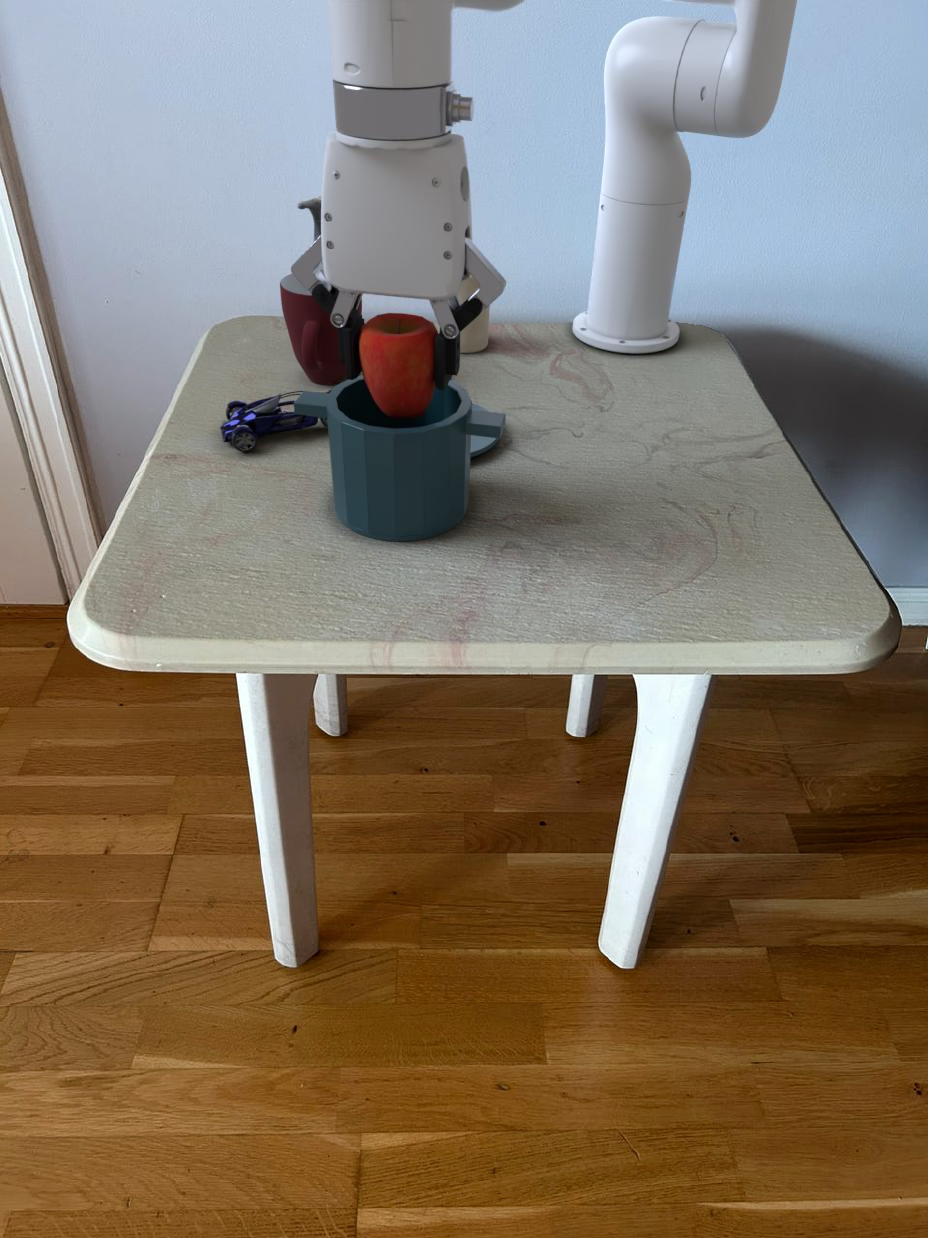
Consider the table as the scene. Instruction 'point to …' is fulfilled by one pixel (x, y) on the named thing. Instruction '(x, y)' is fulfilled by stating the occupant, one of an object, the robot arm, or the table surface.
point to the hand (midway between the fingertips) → (399, 375)
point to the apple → (399, 362)
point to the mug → (311, 333)
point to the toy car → (262, 421)
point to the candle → (478, 329)
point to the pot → (399, 459)
